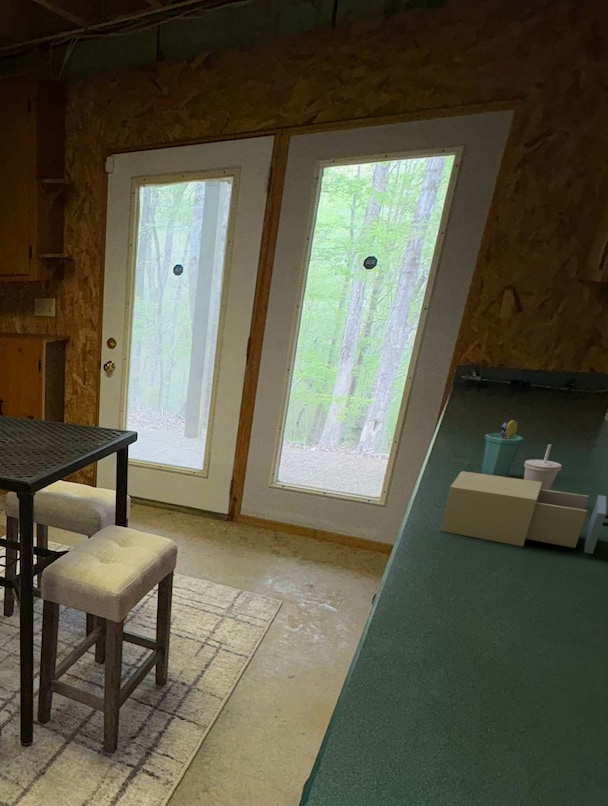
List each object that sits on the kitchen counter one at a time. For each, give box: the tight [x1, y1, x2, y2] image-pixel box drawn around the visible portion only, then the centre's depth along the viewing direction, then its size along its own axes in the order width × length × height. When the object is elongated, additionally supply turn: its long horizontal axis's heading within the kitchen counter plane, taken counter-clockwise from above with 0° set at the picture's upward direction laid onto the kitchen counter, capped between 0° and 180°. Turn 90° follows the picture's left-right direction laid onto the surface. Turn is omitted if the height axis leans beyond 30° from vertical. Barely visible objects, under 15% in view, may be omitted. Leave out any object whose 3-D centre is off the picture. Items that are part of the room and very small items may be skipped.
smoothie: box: [523, 443, 563, 490], centre depth 138 cm, size 6×6×14 cm
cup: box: [480, 419, 524, 477], centre depth 157 cm, size 14×8×15 cm, turn 136°
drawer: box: [525, 489, 608, 555], centre depth 119 cm, size 17×12×8 cm
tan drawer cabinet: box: [439, 470, 542, 547], centre depth 127 cm, size 14×14×10 cm
